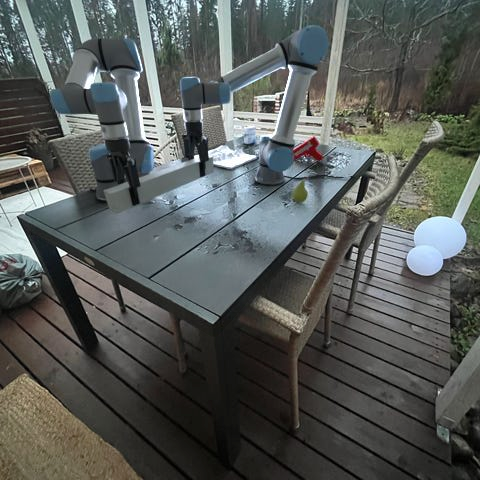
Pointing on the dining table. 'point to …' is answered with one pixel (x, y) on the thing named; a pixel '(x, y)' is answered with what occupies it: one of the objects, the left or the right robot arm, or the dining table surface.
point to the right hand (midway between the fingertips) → (198, 174)
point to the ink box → (249, 134)
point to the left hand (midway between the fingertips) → (131, 202)
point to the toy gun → (308, 150)
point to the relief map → (229, 157)
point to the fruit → (300, 192)
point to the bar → (156, 184)
